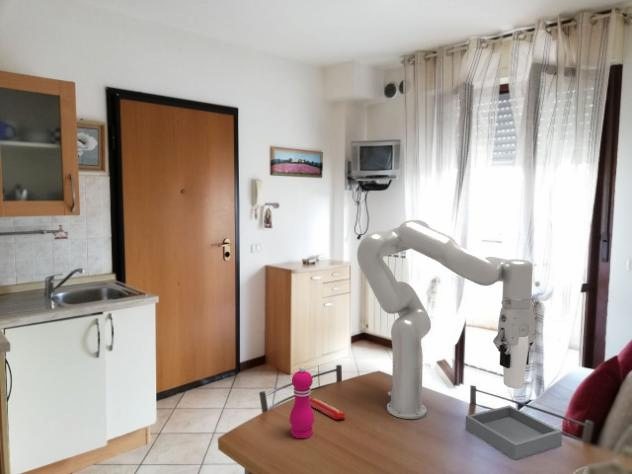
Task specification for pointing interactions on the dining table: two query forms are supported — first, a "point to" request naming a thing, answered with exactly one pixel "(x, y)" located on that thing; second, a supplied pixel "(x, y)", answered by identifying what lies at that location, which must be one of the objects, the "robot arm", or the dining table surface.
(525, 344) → the drinking glass
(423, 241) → the robot arm
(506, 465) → the dining table surface
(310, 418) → the pepper mill
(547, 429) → the tray
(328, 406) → the candy bar
